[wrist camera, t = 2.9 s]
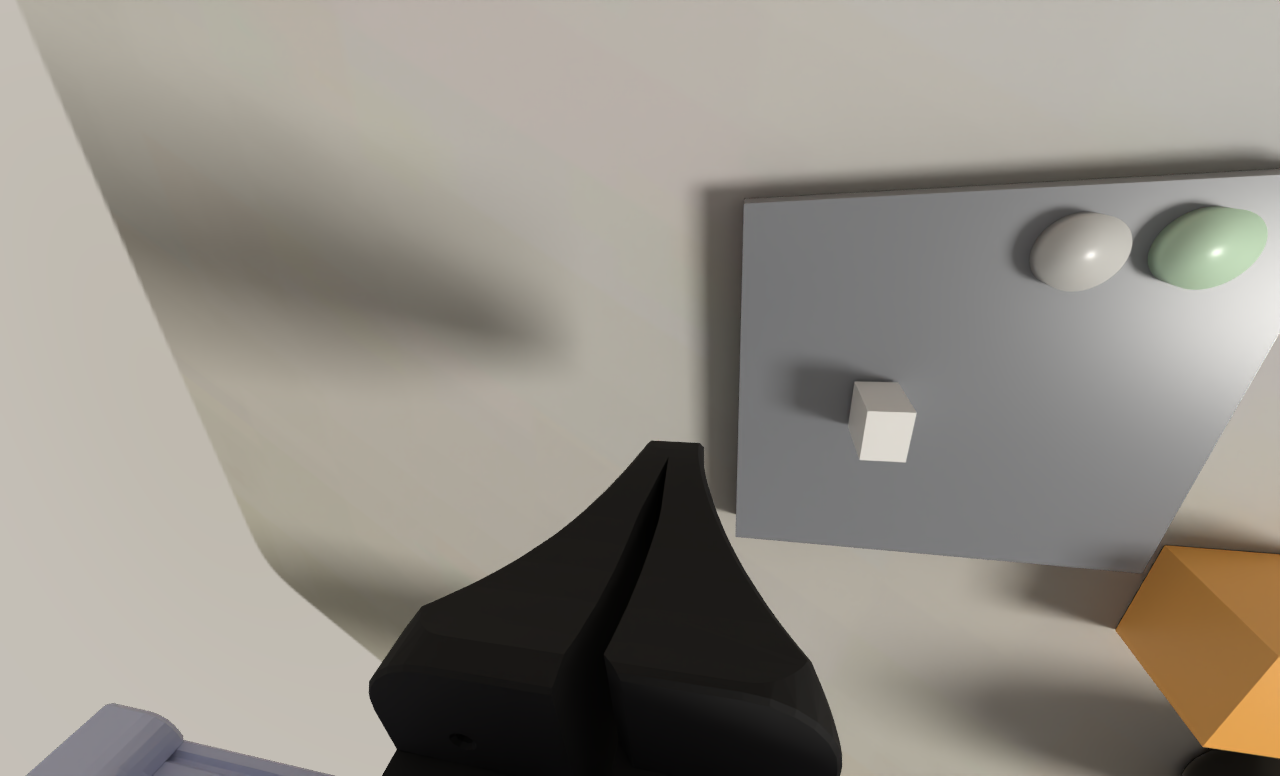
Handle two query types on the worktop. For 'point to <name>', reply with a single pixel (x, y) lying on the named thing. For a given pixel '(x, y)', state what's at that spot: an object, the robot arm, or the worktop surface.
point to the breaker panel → (1002, 360)
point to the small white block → (881, 421)
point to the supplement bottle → (1232, 764)
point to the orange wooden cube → (1213, 643)
